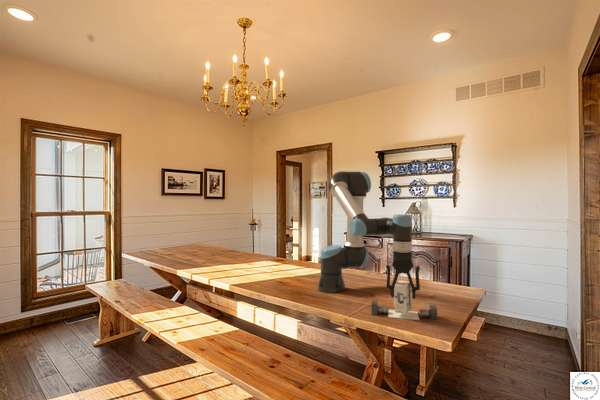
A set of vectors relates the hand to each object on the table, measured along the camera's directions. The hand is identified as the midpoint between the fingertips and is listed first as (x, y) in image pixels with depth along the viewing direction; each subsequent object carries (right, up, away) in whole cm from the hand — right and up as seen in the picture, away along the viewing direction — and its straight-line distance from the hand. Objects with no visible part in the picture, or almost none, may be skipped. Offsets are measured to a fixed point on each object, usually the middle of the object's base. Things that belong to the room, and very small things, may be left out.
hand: (403, 305), depth 134 cm
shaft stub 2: (+9, -4, -3) cm, 10 cm away
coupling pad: (0, -4, 0) cm, 4 cm away
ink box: (0, -2, 0) cm, 2 cm away
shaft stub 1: (-9, -4, +2) cm, 10 cm away
